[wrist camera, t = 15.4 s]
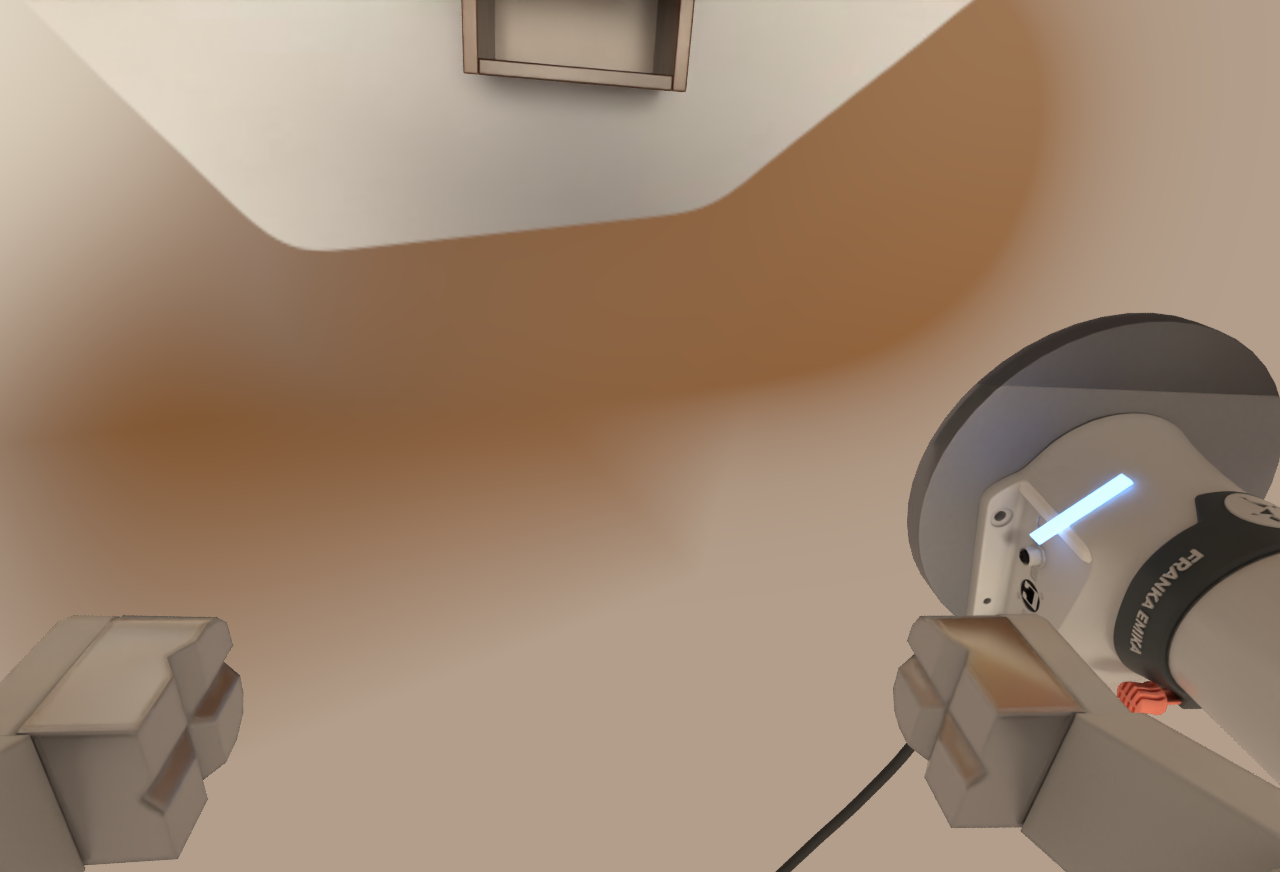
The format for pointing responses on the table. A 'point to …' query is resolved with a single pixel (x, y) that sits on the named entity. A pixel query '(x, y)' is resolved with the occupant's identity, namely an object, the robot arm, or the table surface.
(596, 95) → the table surface
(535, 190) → the table surface
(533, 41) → the brown cabinet body
